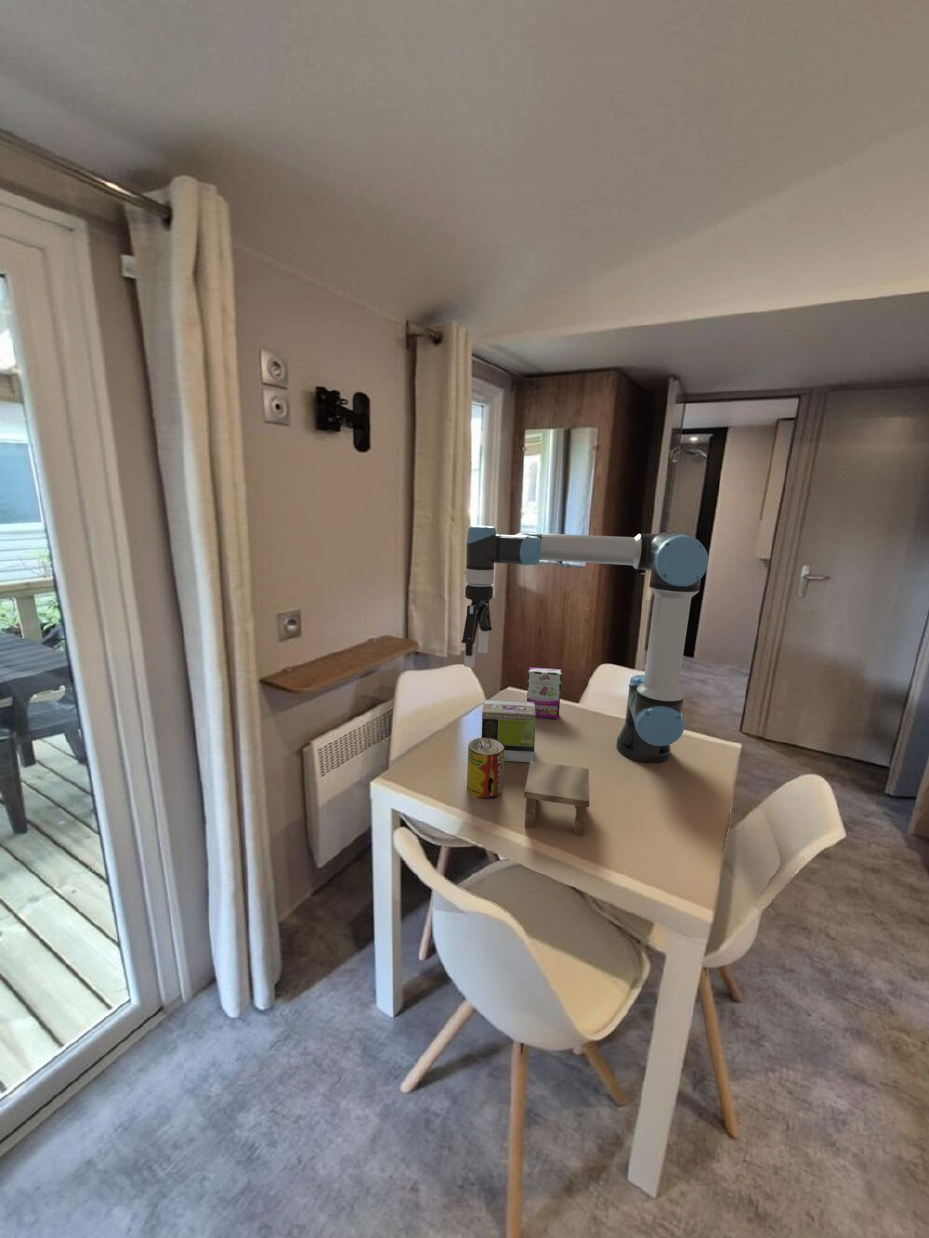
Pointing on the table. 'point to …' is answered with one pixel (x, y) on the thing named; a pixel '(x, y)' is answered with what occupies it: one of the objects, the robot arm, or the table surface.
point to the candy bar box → (545, 691)
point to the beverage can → (485, 768)
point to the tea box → (511, 727)
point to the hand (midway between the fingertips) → (476, 659)
